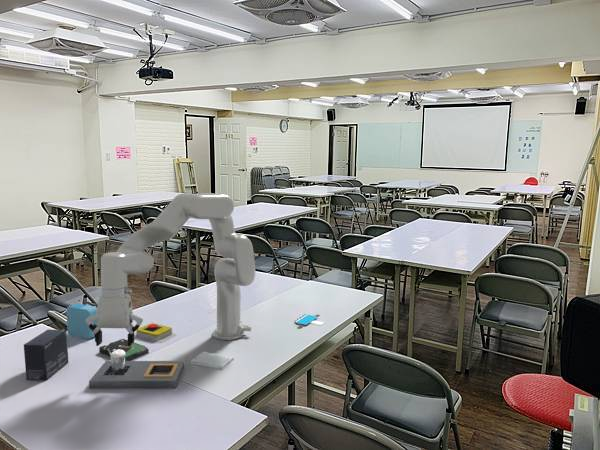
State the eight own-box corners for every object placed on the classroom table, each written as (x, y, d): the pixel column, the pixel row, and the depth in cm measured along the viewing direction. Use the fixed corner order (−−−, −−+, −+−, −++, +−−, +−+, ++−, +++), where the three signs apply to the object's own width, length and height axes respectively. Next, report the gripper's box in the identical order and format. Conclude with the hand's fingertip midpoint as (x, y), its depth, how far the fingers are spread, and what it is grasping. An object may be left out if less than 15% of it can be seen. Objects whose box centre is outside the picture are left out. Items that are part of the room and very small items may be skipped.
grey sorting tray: (184, 367, 152) (184, 360, 152) (175, 388, 138) (175, 380, 138) (106, 368, 150) (106, 360, 150) (89, 388, 136) (89, 380, 136)
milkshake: (111, 374, 146) (110, 345, 144) (128, 374, 146) (127, 345, 145) (106, 381, 141) (105, 351, 140) (123, 381, 142) (122, 351, 140)
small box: (49, 362, 154) (47, 328, 152) (69, 362, 154) (67, 329, 152) (25, 380, 141) (22, 344, 139) (46, 381, 140) (44, 344, 139)
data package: (99, 336, 177) (98, 306, 176) (90, 340, 173) (89, 310, 171) (76, 331, 181) (75, 302, 180) (67, 335, 177) (65, 306, 176)
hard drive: (191, 360, 155) (223, 366, 152) (203, 351, 163) (234, 356, 159) (191, 364, 156) (222, 370, 152) (203, 355, 163) (234, 361, 160)
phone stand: (312, 332, 188) (312, 328, 188) (287, 327, 194) (287, 323, 194) (331, 318, 206) (331, 315, 206) (308, 314, 211) (308, 310, 211)
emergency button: (149, 319, 186) (177, 325, 180) (149, 329, 187) (177, 336, 181) (132, 326, 178) (161, 333, 172) (132, 336, 179) (161, 344, 172)
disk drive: (98, 354, 162) (125, 364, 154) (98, 347, 161) (125, 356, 154) (123, 345, 171) (149, 354, 163) (122, 338, 170) (149, 346, 163)
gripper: (145, 289, 144) (145, 340, 146) (90, 288, 143) (91, 339, 145) (139, 295, 137) (139, 349, 139) (80, 294, 135) (81, 348, 137)
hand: (114, 344), depth 142 cm, fingers open, 9 cm apart
